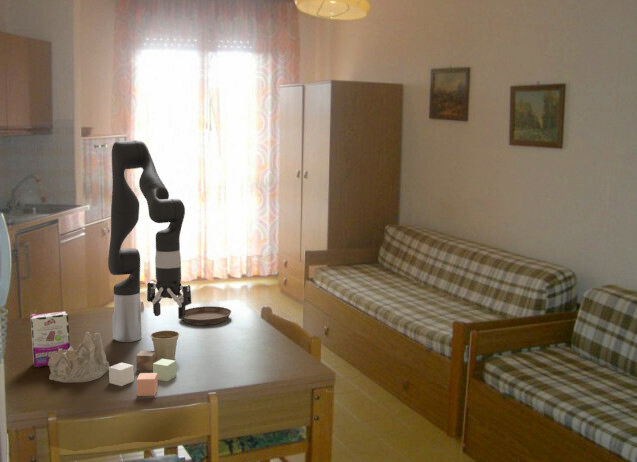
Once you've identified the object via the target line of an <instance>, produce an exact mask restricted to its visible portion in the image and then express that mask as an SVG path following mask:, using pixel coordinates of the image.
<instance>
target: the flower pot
mask: <svg viewBox="0 0 637 462" xmlns="http://www.w3.org/2000/svg"><path fill="white" fill-rule="evenodd" d="M149 337H150V338H151V341H152V345H153V351H157V361H159V360H161V359H168V360H175V359H176V351H177V344H178V343H177V342H178V340H179V337H180V333H179V332H178V331H175V330H167V329H166V330H165V329H164V330H158V331H155V332H152V333H150V335H149Z"/></svg>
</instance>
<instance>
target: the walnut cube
mask: <svg viewBox="0 0 637 462" xmlns="http://www.w3.org/2000/svg"><path fill="white" fill-rule="evenodd" d="M135 356H136V357H135V359H136V361H135V363H136V371H144V372H153V363H155V362H157V351H154V350H140V351H139V352H138V353H137V354H136V355H135Z"/></svg>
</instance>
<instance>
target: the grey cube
mask: <svg viewBox="0 0 637 462" xmlns="http://www.w3.org/2000/svg"><path fill="white" fill-rule="evenodd" d="M108 376H109V377H108V378H109V381H108V382H109V384H113V385H116V386H119V387H123V386H126V385H127V384H130V383H133V382H134V381H135V380H134V379H135V377H134V376H135V371H134V364H129V363H125V362H119V363H117V364H113V365H111V366H110V367H109V370H108Z"/></svg>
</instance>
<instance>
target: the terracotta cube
mask: <svg viewBox="0 0 637 462" xmlns="http://www.w3.org/2000/svg"><path fill="white" fill-rule="evenodd" d="M158 381H159V380H158V379H157V373H153V372H140V373H139V374H138V376H137V379H136V395H137V397H147V396H149V397H150V396H156V394H157V391H158V389H159V383H158Z"/></svg>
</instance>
